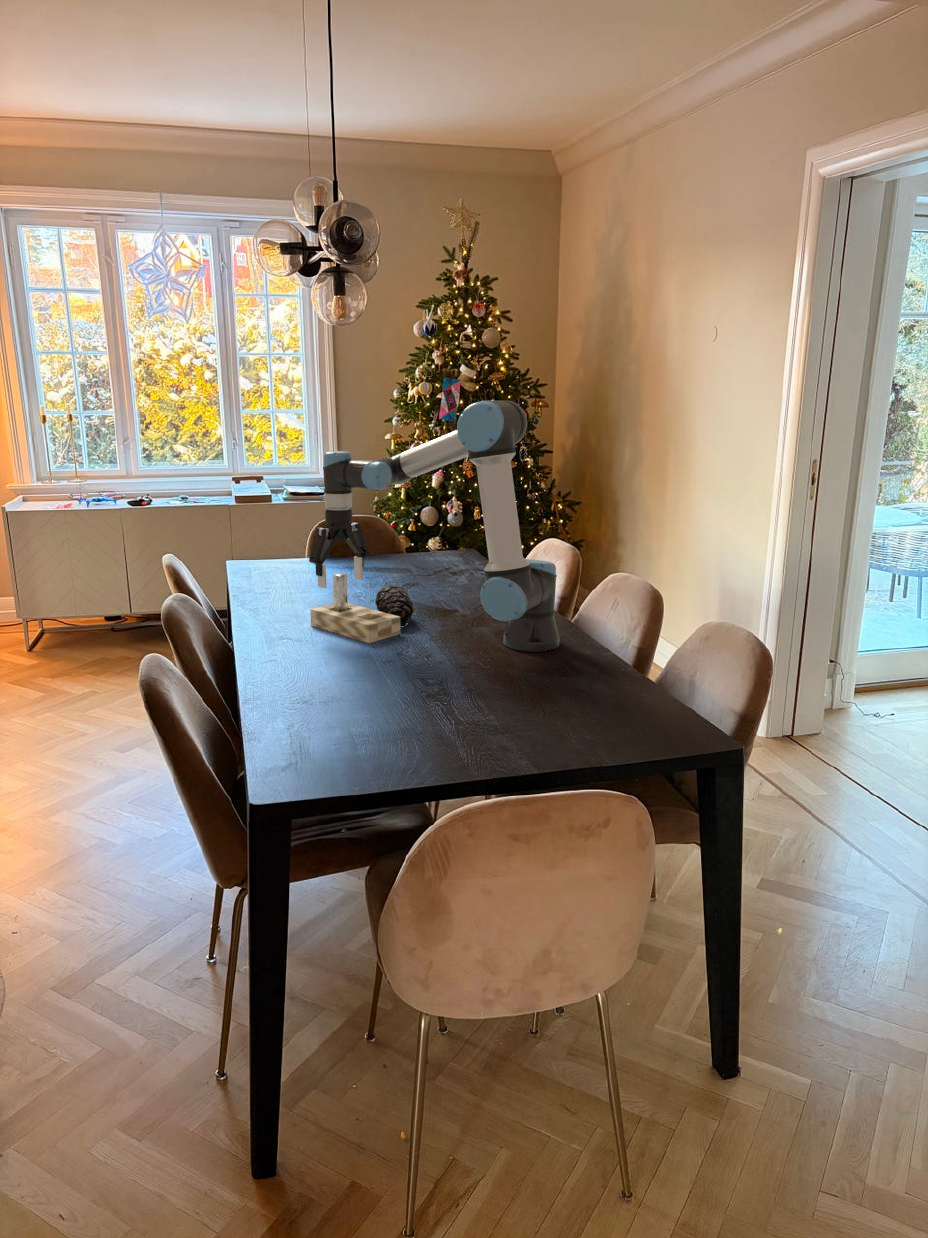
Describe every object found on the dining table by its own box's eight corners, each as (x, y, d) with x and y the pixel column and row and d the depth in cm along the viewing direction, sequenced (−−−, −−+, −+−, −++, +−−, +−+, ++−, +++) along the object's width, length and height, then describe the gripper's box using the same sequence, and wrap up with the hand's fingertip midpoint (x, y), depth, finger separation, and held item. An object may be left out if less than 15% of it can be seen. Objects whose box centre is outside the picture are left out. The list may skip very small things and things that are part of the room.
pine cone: (390, 631, 252) (390, 596, 249) (370, 615, 267) (370, 583, 265) (425, 627, 256) (425, 593, 253) (403, 612, 271) (403, 580, 269)
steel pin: (350, 622, 255) (350, 574, 252) (340, 625, 252) (339, 576, 249) (341, 619, 258) (340, 572, 254) (331, 622, 255) (330, 574, 251)
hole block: (400, 634, 249) (400, 616, 247) (368, 643, 240) (368, 625, 238) (342, 618, 264) (342, 601, 262) (310, 626, 255) (310, 609, 253)
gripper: (362, 502, 258) (364, 574, 263) (294, 511, 240) (297, 588, 245) (380, 504, 253) (381, 577, 259) (312, 514, 235) (315, 592, 240)
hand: (340, 583), depth 252 cm, fingers open, 13 cm apart
